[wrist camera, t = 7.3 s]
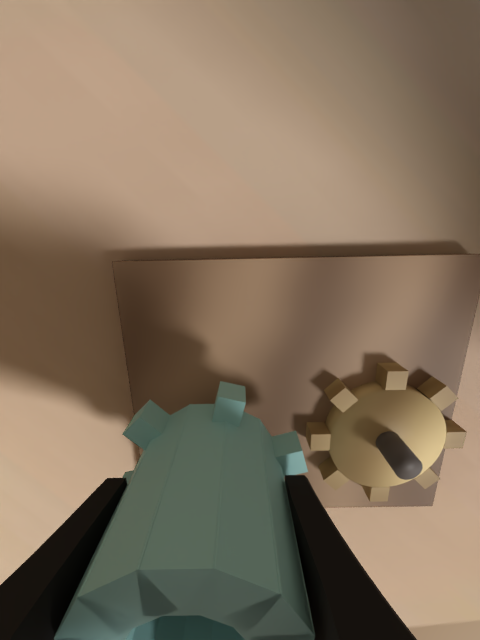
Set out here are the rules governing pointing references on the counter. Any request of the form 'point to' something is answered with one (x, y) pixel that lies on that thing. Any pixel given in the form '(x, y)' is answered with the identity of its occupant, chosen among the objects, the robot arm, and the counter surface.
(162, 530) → the gear
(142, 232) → the counter surface
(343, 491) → the gear board
